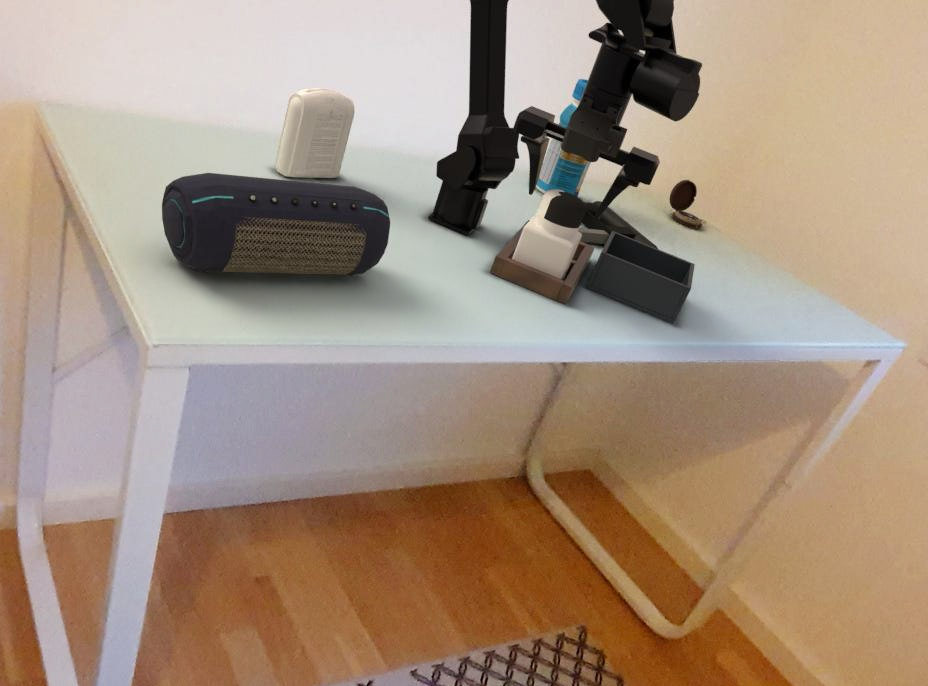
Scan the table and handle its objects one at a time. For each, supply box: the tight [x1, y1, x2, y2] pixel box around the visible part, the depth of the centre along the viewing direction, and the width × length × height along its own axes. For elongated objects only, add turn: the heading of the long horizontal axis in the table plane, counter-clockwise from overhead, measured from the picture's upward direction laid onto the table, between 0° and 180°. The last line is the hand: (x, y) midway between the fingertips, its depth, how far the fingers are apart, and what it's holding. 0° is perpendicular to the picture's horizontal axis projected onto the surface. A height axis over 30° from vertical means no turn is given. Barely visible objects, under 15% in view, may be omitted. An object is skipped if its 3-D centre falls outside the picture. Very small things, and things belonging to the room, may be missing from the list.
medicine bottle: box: [512, 189, 587, 281], centre depth 115 cm, size 7×7×12 cm
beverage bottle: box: [535, 78, 592, 197], centre depth 152 cm, size 8×8×20 cm
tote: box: [585, 231, 695, 325], centre depth 123 cm, size 13×12×6 cm
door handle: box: [578, 200, 659, 249], centre depth 142 cm, size 3×20×16 cm
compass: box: [668, 179, 707, 230], centre depth 168 cm, size 8×8×7 cm
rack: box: [489, 219, 596, 305], centre depth 121 cm, size 11×21×2 cm, turn 162°
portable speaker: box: [161, 172, 391, 277], centre depth 92 cm, size 25×10×10 cm, turn 122°
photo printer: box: [274, 87, 355, 179], centre depth 121 cm, size 10×4×12 cm, turn 134°
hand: (562, 207), depth 113 cm, fingers open, 9 cm apart
